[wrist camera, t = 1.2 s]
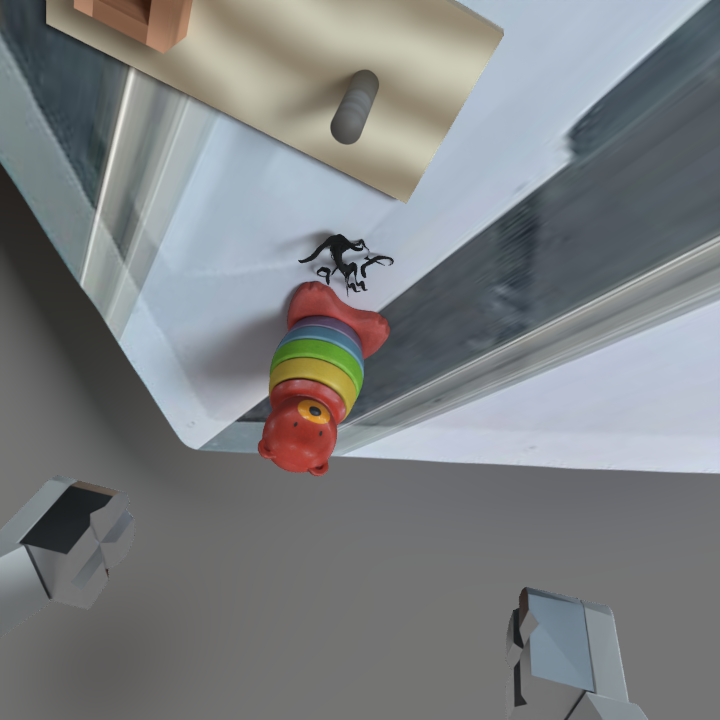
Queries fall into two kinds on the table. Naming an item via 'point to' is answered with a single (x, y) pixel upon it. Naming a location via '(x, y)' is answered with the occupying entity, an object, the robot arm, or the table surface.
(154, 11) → the bead
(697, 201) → the table surface
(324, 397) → the stacking bear
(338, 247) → the creature
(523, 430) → the table surface
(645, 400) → the table surface
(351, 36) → the board
